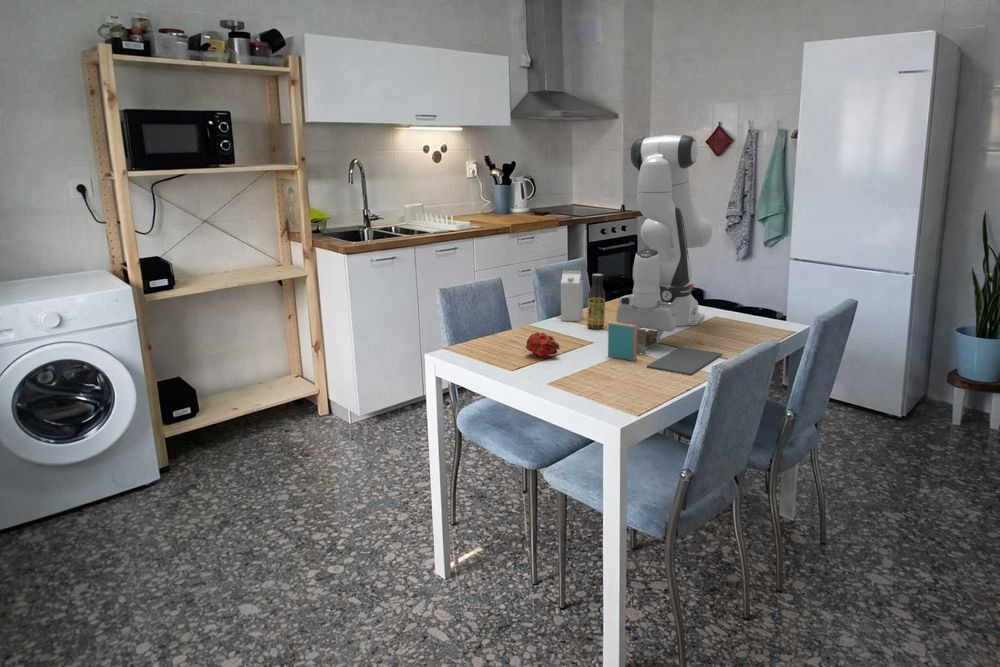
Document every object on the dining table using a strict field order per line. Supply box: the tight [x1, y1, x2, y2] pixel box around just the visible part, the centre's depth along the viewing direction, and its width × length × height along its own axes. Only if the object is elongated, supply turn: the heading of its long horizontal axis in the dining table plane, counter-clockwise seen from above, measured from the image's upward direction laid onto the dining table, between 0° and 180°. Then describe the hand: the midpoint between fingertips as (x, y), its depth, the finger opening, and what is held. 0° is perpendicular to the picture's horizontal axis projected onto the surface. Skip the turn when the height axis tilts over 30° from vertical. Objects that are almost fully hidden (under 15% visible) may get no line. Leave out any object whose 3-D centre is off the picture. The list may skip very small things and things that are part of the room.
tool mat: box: [646, 346, 723, 376], centre depth 216 cm, size 24×14×1 cm, turn 142°
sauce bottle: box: [586, 273, 606, 330], centre depth 256 cm, size 7×6×20 cm
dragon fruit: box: [525, 331, 561, 359], centre depth 225 cm, size 8×8×12 cm
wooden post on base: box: [637, 327, 658, 355], centre depth 232 cm, size 15×8×8 cm, turn 142°
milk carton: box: [560, 270, 584, 322], centre depth 270 cm, size 7×7×19 cm
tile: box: [607, 321, 638, 362], centre depth 220 cm, size 2×9×11 cm, turn 52°
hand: (645, 340), depth 234 cm, fingers open, 7 cm apart
